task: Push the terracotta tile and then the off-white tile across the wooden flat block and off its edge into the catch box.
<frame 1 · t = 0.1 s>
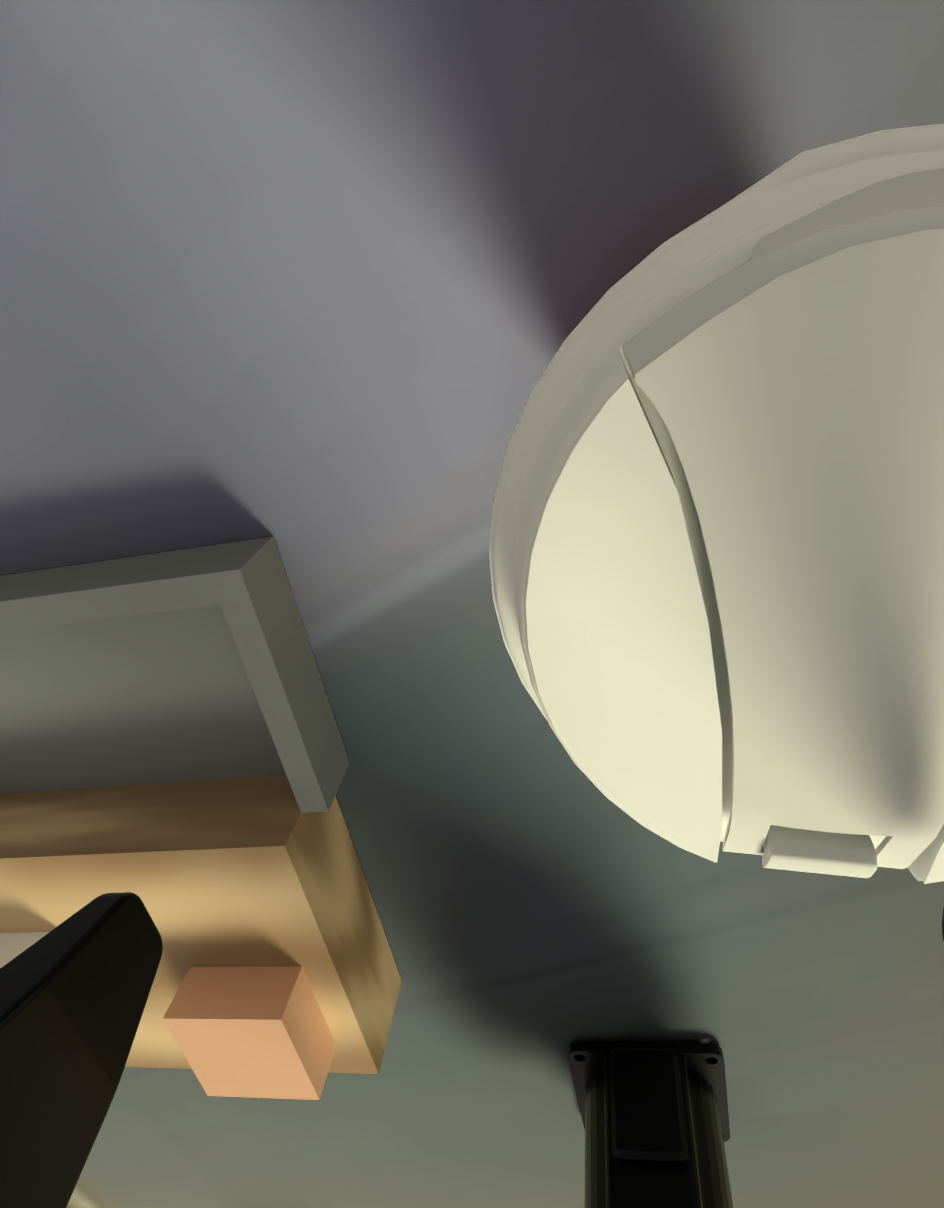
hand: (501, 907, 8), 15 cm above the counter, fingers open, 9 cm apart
off-white tile: (39, 972, 29), point 4 cm above the counter, touching wooden flat block
wooden flat block: (190, 887, 31), on the counter
terracotta tile: (264, 1006, 28), point 4 cm above the counter, touching wooden flat block
paper cup: (695, 361, 19), on the counter
catch box: (93, 693, 27), on the counter
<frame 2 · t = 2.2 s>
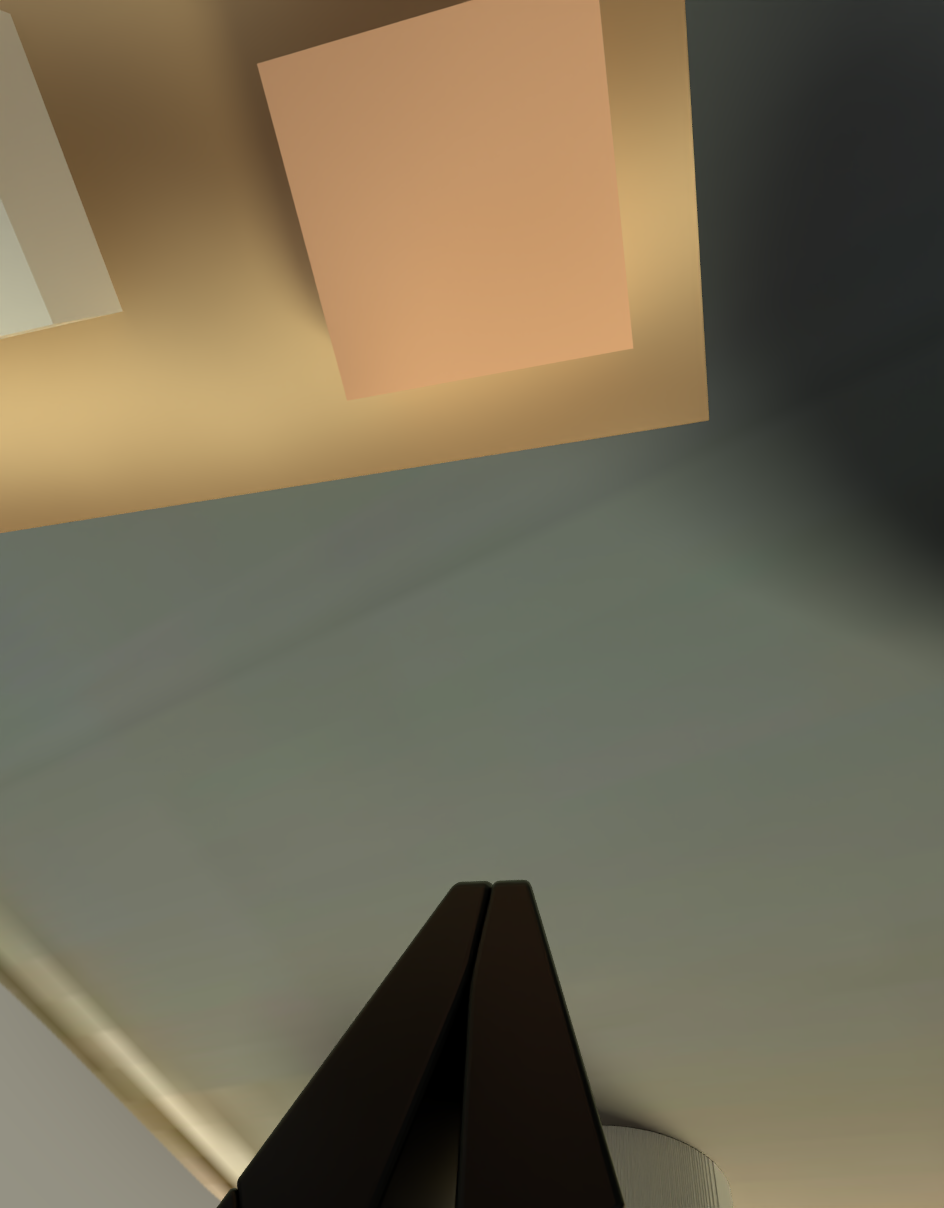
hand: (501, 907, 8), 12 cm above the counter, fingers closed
cup: (621, 1180, 32), on the counter
wooden flat block: (277, 160, 16), on the counter
terracotta tile: (473, 214, 12), point 4 cm above the counter, touching wooden flat block
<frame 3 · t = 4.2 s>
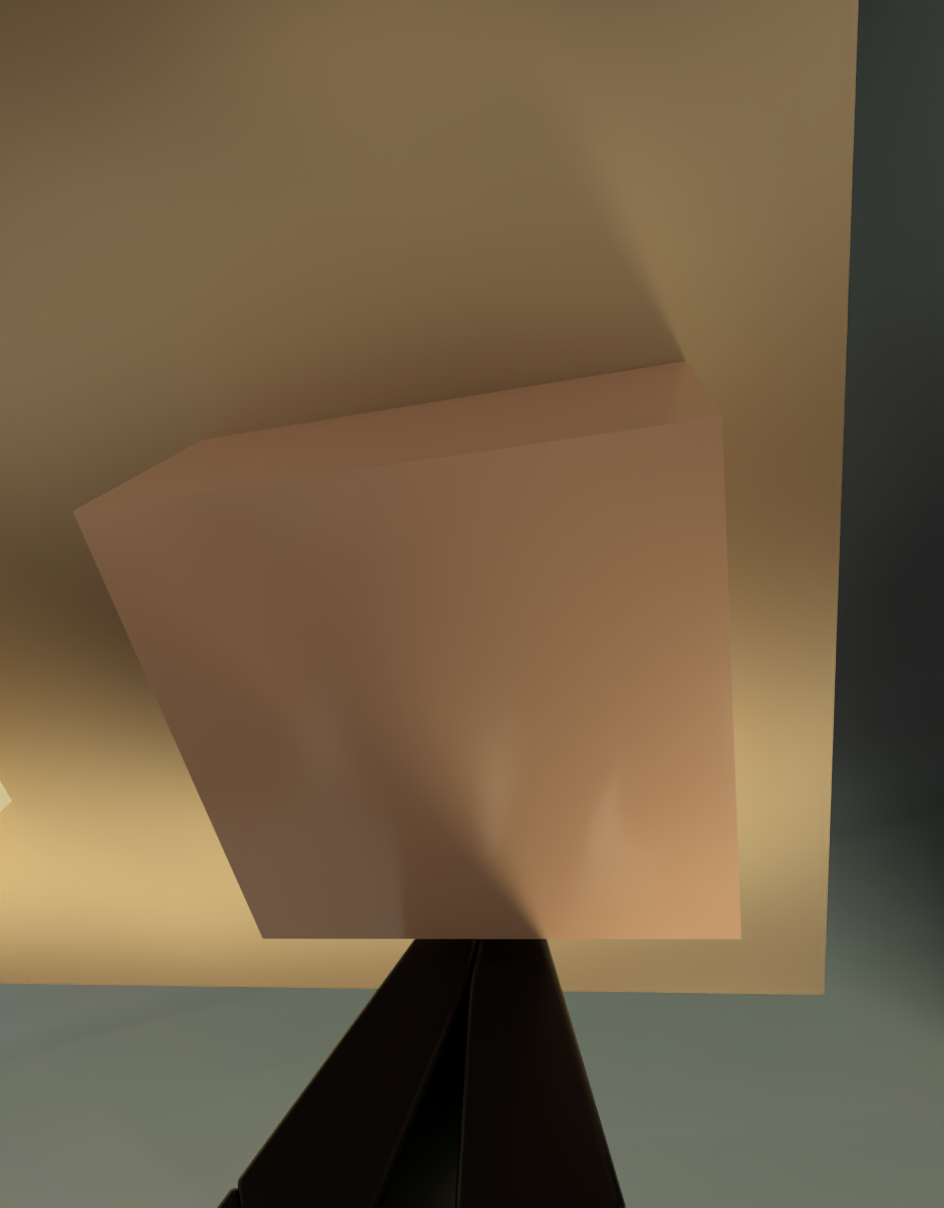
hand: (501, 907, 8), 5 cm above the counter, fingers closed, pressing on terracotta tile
wooden flat block: (236, 518, 12), on the counter
terracotta tile: (472, 621, 8), point 4 cm above the counter, touching gripper, wooden flat block
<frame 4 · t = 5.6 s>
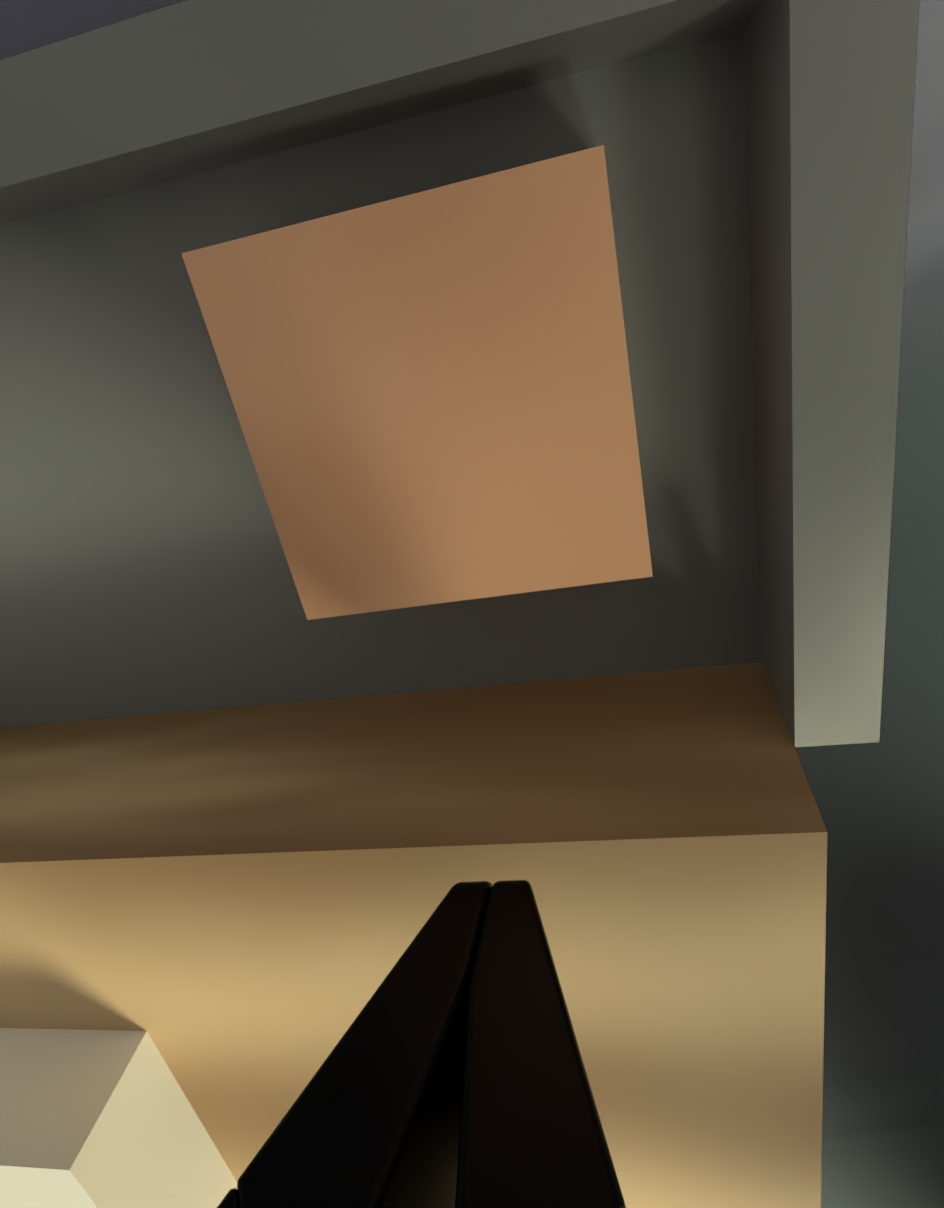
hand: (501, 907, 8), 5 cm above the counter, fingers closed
off-white tile: (85, 1107, 13), point 4 cm above the counter, touching wooden flat block
wooden flat block: (375, 921, 16), on the counter
terracotta tile: (429, 423, 8), point 2 cm above the counter, tilted 180°, touching catch box
catch box: (219, 480, 12), on the counter
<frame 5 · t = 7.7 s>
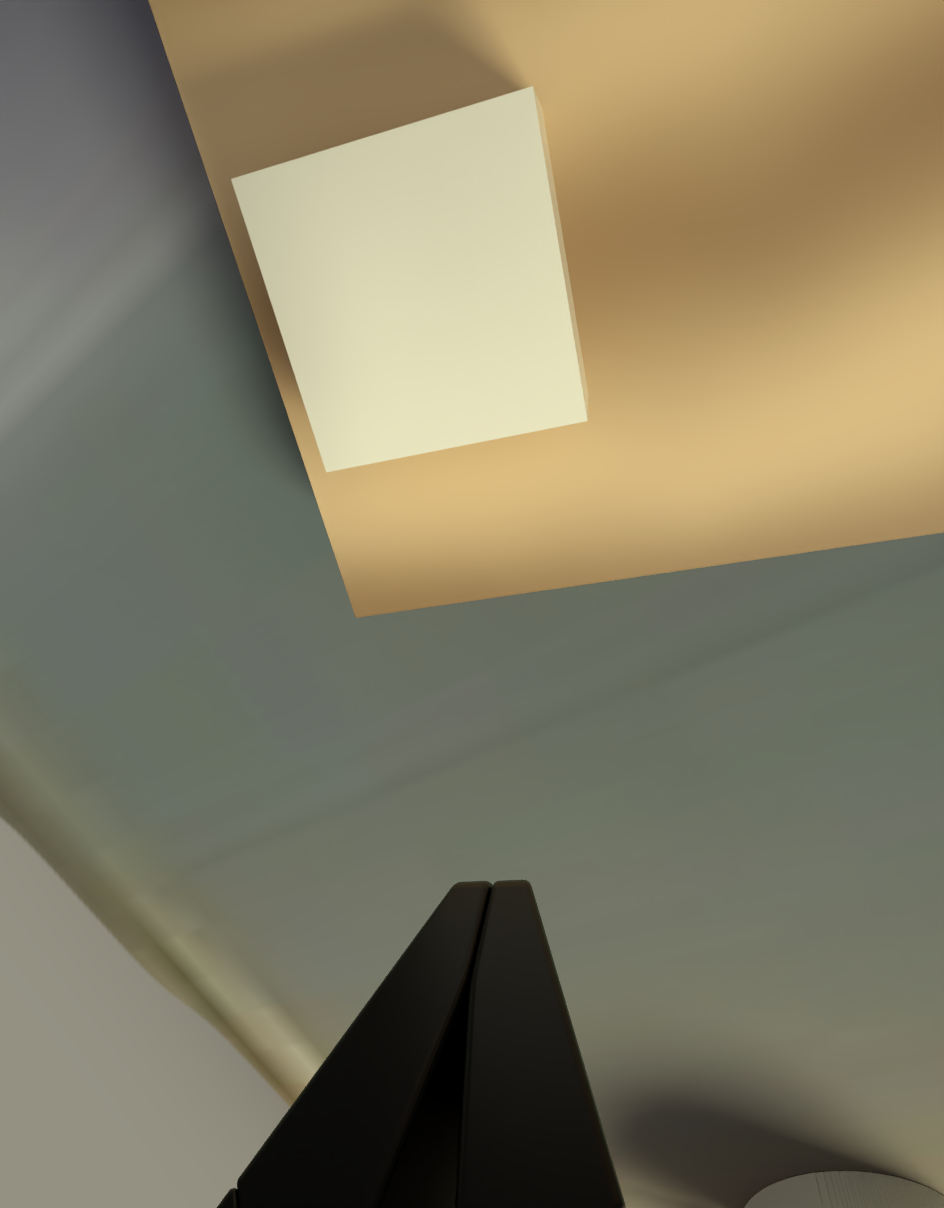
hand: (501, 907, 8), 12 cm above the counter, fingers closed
off-white tile: (440, 293, 13), point 4 cm above the counter, touching wooden flat block
wooden flat block: (679, 227, 15), on the counter
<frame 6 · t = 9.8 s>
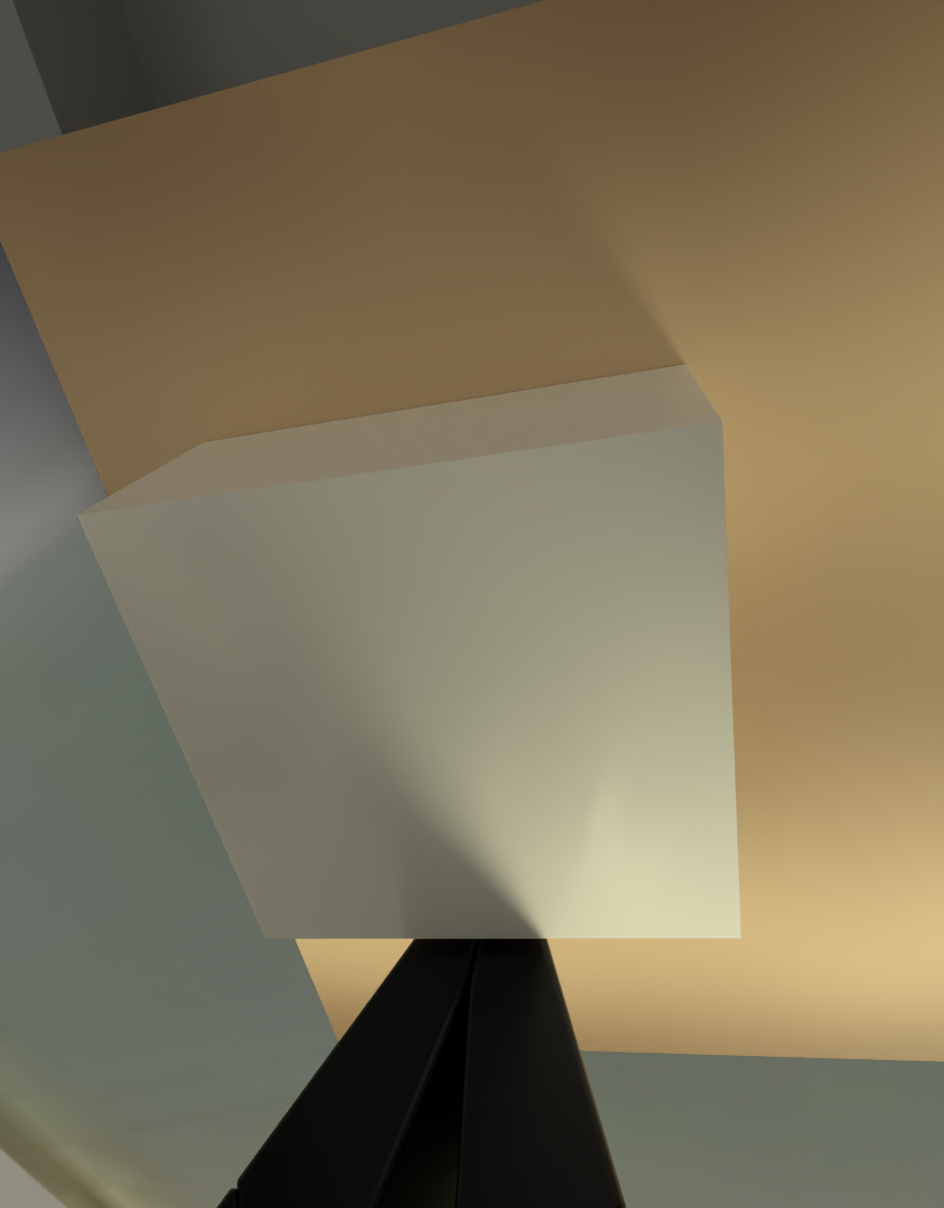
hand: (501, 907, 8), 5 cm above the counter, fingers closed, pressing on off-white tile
off-white tile: (473, 623, 8), point 4 cm above the counter, touching gripper
wooden flat block: (829, 527, 11), on the counter
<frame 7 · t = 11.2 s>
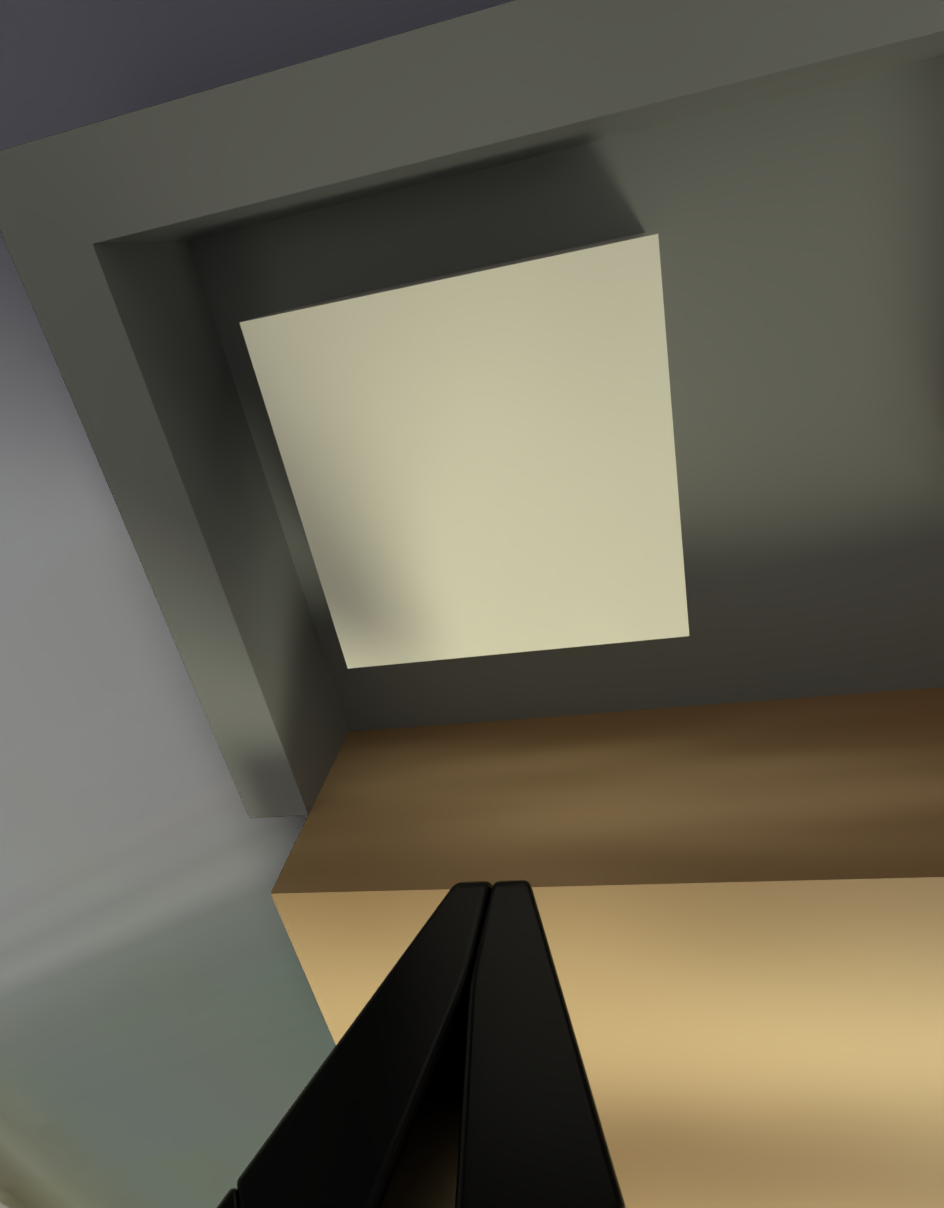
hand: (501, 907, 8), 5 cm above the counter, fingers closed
off-white tile: (476, 487, 9), point 2 cm above the counter, tilted 180°, touching catch box
wooden flat block: (821, 940, 14), on the counter
catch box: (827, 434, 10), on the counter
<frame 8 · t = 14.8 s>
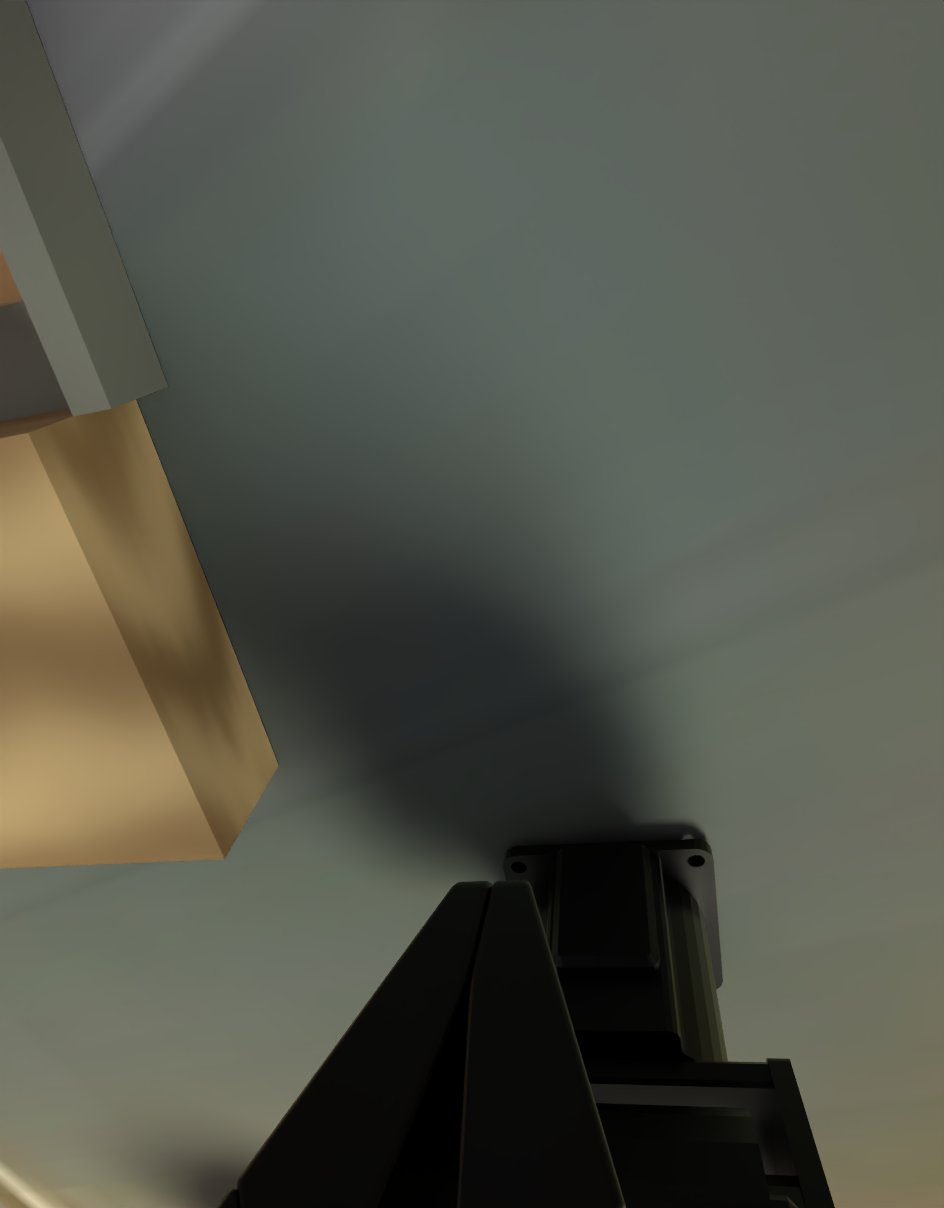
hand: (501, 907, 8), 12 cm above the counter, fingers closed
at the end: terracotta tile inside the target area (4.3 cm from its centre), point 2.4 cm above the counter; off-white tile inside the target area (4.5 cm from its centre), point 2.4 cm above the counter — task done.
